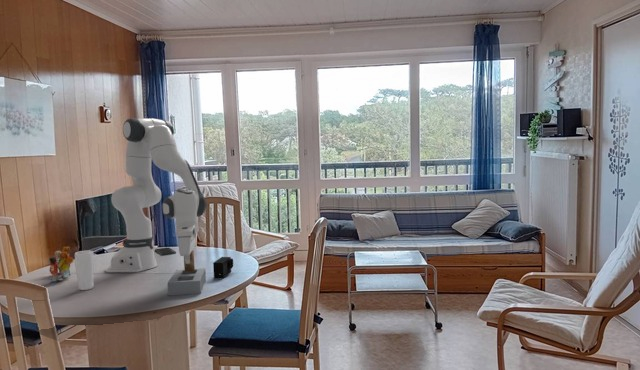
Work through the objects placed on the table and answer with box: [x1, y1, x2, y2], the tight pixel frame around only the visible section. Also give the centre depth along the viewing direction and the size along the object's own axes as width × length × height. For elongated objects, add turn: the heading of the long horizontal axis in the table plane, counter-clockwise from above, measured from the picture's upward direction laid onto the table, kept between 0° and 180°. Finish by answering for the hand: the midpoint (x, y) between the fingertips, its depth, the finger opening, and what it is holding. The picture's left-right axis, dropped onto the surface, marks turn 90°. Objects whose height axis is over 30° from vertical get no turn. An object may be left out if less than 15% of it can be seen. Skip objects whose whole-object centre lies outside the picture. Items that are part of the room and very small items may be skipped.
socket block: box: [167, 267, 207, 296], centre depth 179 cm, size 12×18×5 cm, turn 8°
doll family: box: [48, 246, 75, 285], centre depth 197 cm, size 21×10×13 cm, turn 22°
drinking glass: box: [74, 249, 95, 291], centre depth 180 cm, size 7×7×15 cm
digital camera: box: [212, 256, 234, 279], centre depth 196 cm, size 10×5×7 cm, turn 172°
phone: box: [154, 247, 177, 257], centre depth 243 cm, size 8×1×15 cm
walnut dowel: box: [183, 249, 196, 272], centre depth 183 cm, size 4×4×8 cm
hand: (188, 261), depth 183 cm, fingers closed on walnut dowel, 4 cm apart
